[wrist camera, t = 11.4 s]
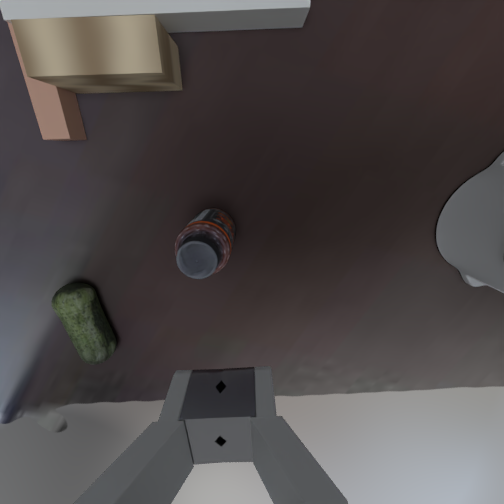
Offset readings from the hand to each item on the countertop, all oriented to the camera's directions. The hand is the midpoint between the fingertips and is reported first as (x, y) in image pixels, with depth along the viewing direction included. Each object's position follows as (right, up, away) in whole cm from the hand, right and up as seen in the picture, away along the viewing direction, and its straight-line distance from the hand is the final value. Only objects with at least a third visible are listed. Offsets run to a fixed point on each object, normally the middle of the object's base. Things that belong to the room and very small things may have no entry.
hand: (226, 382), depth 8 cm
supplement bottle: (-4, +7, +27) cm, 28 cm away
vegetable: (-24, -6, +32) cm, 41 cm away
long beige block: (-13, +24, +20) cm, 34 cm away
